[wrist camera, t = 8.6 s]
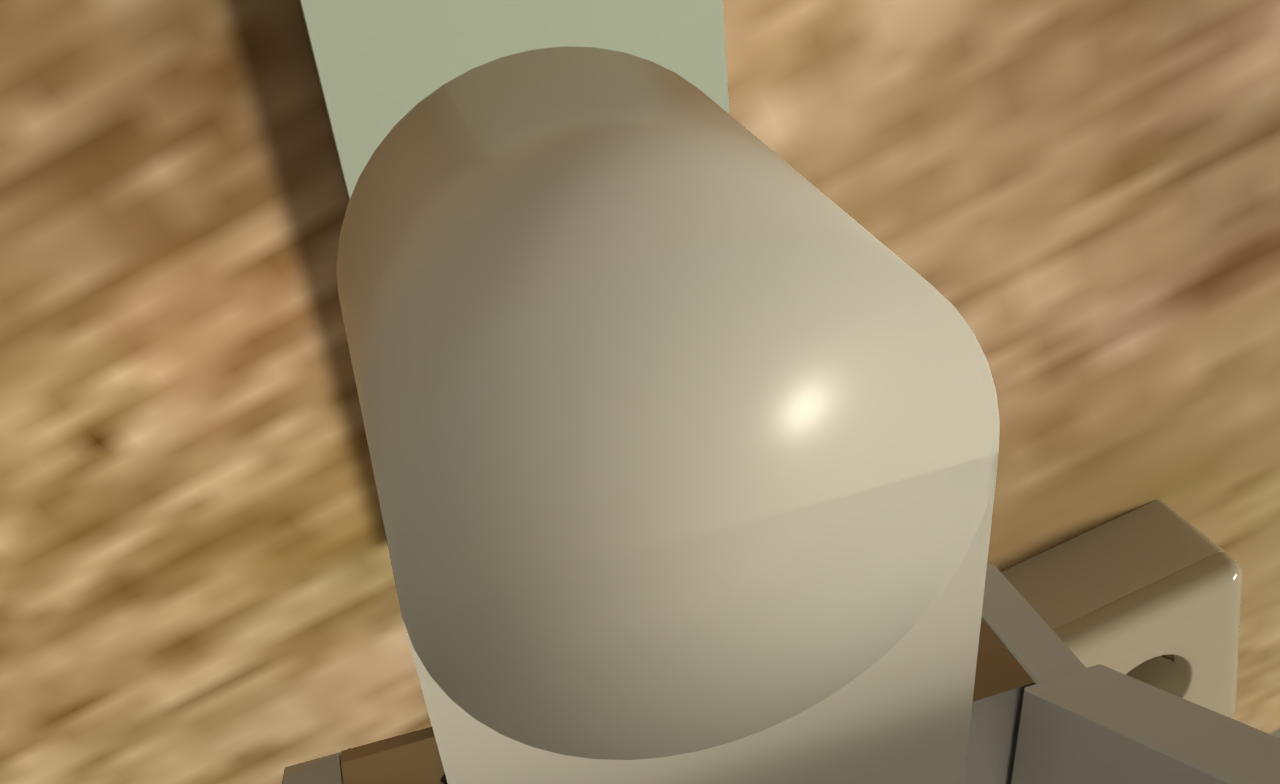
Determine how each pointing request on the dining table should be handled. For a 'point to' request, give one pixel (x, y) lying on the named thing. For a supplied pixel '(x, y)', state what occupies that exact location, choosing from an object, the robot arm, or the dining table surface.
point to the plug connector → (661, 443)
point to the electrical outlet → (1144, 603)
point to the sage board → (485, 50)
